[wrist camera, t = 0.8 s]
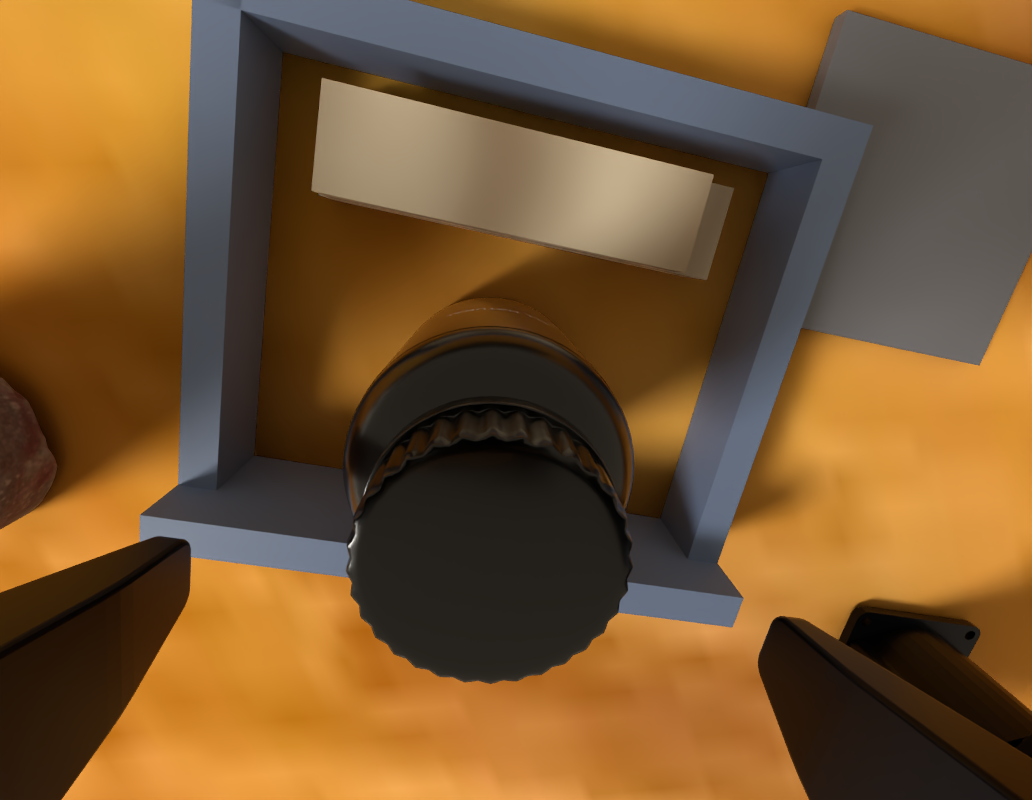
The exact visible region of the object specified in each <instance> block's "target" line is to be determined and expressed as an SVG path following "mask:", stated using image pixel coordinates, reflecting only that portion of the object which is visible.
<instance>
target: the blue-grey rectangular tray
mask: <svg viewBox="0 0 1032 800" xmlns="http://www.w3.org/2000/svg"><path fill="white" fill-rule="evenodd" d="M283 52H285V53H289V54H293V55H297V56H301V57H305V58H309V59H313V60H317V61H321V62H325V63H329V64H333V65H337V66H341V67H345V68H349V69H353V70H357V71H361V72H365V73H369V74H373V75H377V76H381V77H385V78H389V79H393V80H397V81H401V82H405V83H409V84H413V85H417V86H421V87H425V88H429V89H433V90H437V91H441V92H445V93H449V94H453V95H457V96H461V97H465V98H469V99H473V100H477V101H481V102H485V103H489V104H493V105H497V106H501V107H505V108H509V109H513V110H517V111H521V112H525V113H529V114H533V115H537V116H541V117H545V118H549V119H553V120H557V121H561V122H565V123H569V124H573V125H577V126H581V127H585V128H589V129H593V130H597V131H601V132H605V133H609V134H613V135H617V136H621V137H625V138H629V139H633V140H637V141H641V142H645V143H649V144H653V145H657V146H661V147H666V148H670V149H674V150H678V151H682V152H686V153H690V154H694V155H698V156H702V157H706V158H710V159H714V160H718V161H722V162H726V163H730V164H734V165H738V166H742V167H746V168H750V169H754V170H758V171H762V172H766V173H769V174H768V177H767V180H766V183H765V186H764V189H763V193H762V196H761V199H760V202H759V205H758V209H757V212H756V215H755V218H754V221H753V225H752V228H751V231H750V234H749V237H748V240H747V244H746V247H745V250H744V253H743V256H742V260H741V263H740V266H739V269H738V272H737V275H736V279H735V282H734V285H733V288H732V291H731V295H730V298H729V301H728V304H727V307H726V311H725V314H724V317H723V320H722V323H721V326H720V330H719V333H718V336H717V339H716V342H715V346H714V349H713V352H712V355H711V358H710V362H709V365H708V368H707V371H706V374H705V377H704V381H703V384H702V387H701V390H700V393H699V397H698V400H697V403H696V406H695V409H694V413H693V416H692V419H691V422H690V425H689V428H688V432H687V435H686V438H685V441H684V444H683V448H682V451H681V454H680V457H679V460H678V463H677V467H676V470H675V473H674V476H673V479H672V483H671V486H670V489H669V492H668V495H667V499H666V502H665V505H664V508H663V511H662V514H661V518H654V517H648V516H641V515H635V514H628V513H626V516H627V528H628V530H629V532H630V534H631V536H632V541H633V544H632V548H631V551H630V556H631V559H632V563H633V568H632V571H631V573H630V575H629V576H628V578H627V582H628V591H627V593H626V594H625V596H624V597H623V598H622V599H621V600H620V604H619V611H618V613H626V614H634V615H641V616H649V617H657V618H665V619H672V620H680V621H688V622H695V623H703V624H711V625H719V626H726V627H733V624H734V622H735V619H736V617H737V614H738V611H739V609H740V606H741V603H742V601H743V597H742V595H741V594H740V593H739V592H738V590H737V589H736V588H735V586H734V585H733V584H732V582H731V581H730V580H729V578H728V577H727V576H726V574H725V573H724V572H723V570H722V569H721V568H720V566H719V565H718V564H717V563H718V560H719V557H720V554H721V551H722V549H723V546H724V543H725V540H726V537H727V535H728V532H729V529H730V526H731V523H732V521H733V518H734V515H735V512H736V509H737V507H738V504H739V501H740V498H741V495H742V493H743V490H744V487H745V484H746V481H747V479H748V476H749V473H750V470H751V467H752V465H753V462H754V459H755V456H756V453H757V451H758V448H759V445H760V442H761V439H762V437H763V434H764V431H765V428H766V425H767V423H768V420H769V417H770V414H771V411H772V409H773V406H774V403H775V400H776V397H777V395H778V392H779V389H780V386H781V383H782V381H783V378H784V375H785V372H786V369H787V367H788V364H789V361H790V358H791V355H792V353H793V350H794V347H795V344H796V341H797V339H798V336H799V333H800V330H801V327H802V325H803V322H804V319H805V316H806V313H807V311H808V308H809V305H810V302H811V299H812V297H813V294H814V291H815V288H816V285H817V282H818V280H819V277H820V274H821V271H822V268H823V266H824V263H825V260H826V257H827V254H828V252H829V249H830V246H831V243H832V240H833V238H834V235H835V232H836V229H837V226H838V224H839V221H840V218H841V215H842V212H843V210H844V207H845V204H846V201H847V198H848V196H849V193H850V190H851V187H852V184H853V182H854V179H855V176H856V173H857V170H858V168H859V165H860V162H861V159H862V156H863V154H864V151H865V148H866V145H867V142H868V140H869V137H870V134H871V131H872V128H873V125H870V124H866V123H862V122H858V121H855V120H851V119H847V118H844V117H840V116H836V115H832V114H829V113H825V112H821V111H818V110H814V109H810V108H806V107H803V106H799V105H795V104H792V103H788V102H784V101H780V100H777V99H773V98H769V97H766V96H762V95H758V94H754V93H751V92H747V91H743V90H740V89H736V88H732V87H728V86H725V85H721V84H717V83H714V82H710V81H706V80H702V79H699V78H695V77H691V76H688V75H684V74H680V73H677V72H673V71H669V70H665V69H662V68H658V67H654V66H651V65H647V64H643V63H639V62H636V61H632V60H628V59H625V58H621V57H617V56H613V55H610V54H606V53H602V52H599V51H595V50H591V49H587V48H584V47H580V46H576V45H573V44H569V43H565V42H561V41H558V40H554V39H550V38H547V37H543V36H539V35H535V34H532V33H528V32H524V31H521V30H517V29H513V28H509V27H506V26H502V25H498V24H495V23H491V22H487V21H483V20H480V19H476V18H472V17H469V16H465V15H461V14H457V13H454V12H450V11H446V10H443V9H439V8H435V7H431V6H428V5H424V4H420V3H417V2H413V1H409V0H192V27H191V62H190V96H189V131H188V165H187V200H186V234H185V269H184V304H183V338H182V373H181V407H180V442H179V477H178V485H177V486H176V487H175V488H174V489H172V490H171V491H170V492H169V493H167V494H166V495H165V496H163V497H162V498H161V499H160V500H158V501H157V502H156V503H155V504H153V505H152V506H151V507H149V508H148V509H147V510H146V511H144V512H143V513H142V514H141V515H140V542H141V541H144V540H147V539H150V538H152V537H156V536H163V537H171V538H179V539H185V540H187V541H188V542H189V543H190V547H191V557H194V558H202V559H210V560H217V561H225V562H233V563H241V564H248V565H256V566H264V567H271V568H279V569H287V570H295V571H302V572H310V573H318V574H325V575H333V576H341V577H348V575H347V573H346V565H347V562H348V559H349V554H348V550H347V546H346V545H347V540H348V537H349V535H350V533H351V531H352V529H353V516H352V513H351V510H350V507H349V505H348V501H347V497H346V493H345V487H344V480H343V469H338V468H331V467H325V466H319V465H312V464H306V463H299V462H293V461H286V460H280V459H273V458H267V457H260V456H254V451H255V437H256V423H257V409H258V395H259V381H260V367H261V353H262V339H263V325H264V311H265V297H266V283H267V269H268V255H269V241H270V227H271V213H272V199H273V185H274V171H275V157H276V143H277V129H278V115H279V101H280V88H281V74H282V60H283ZM348 578H349V577H348Z"/></svg>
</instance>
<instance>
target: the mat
mask: <svg viewBox="0 0 1032 800" xmlns="http://www.w3.org/2000/svg"><path fill="white" fill-rule="evenodd" d="M806 108H810V109H814V110H818V111H821V112H825V113H829V114H832V115H836V116H840V117H844V118H847V119H851V120H855V121H858V122H862V123H866V124H870V125H873V128H872V131H871V134H870V137H869V140H868V142H867V145H866V148H865V151H864V154H863V156H862V159H861V162H860V165H859V168H858V170H857V173H856V176H855V179H854V182H853V184H852V187H851V190H850V193H849V196H848V198H847V201H846V204H845V207H844V210H843V212H842V215H841V218H840V221H839V224H838V226H837V229H836V232H835V235H834V238H833V240H832V243H831V246H830V249H829V252H828V254H827V257H826V260H825V263H824V266H823V268H822V271H821V274H820V277H819V280H818V282H817V285H816V288H815V291H814V294H813V297H812V299H811V302H810V305H809V308H808V311H807V313H806V316H805V319H804V322H803V325H802V327H801V328H804V329H809V330H813V331H818V332H823V333H828V334H832V335H837V336H842V337H846V338H851V339H856V340H861V341H865V342H870V343H875V344H880V345H884V346H889V347H894V348H899V349H903V350H908V351H913V352H918V353H922V354H927V355H932V356H937V357H941V358H946V359H951V360H956V361H960V362H965V363H970V364H974V365H980V363H981V361H982V359H983V356H984V354H985V352H986V350H987V348H988V346H989V343H990V341H991V339H992V337H993V335H994V333H995V330H996V328H997V326H998V324H999V322H1000V320H1001V317H1002V315H1003V313H1004V311H1005V309H1006V307H1007V304H1008V302H1009V300H1010V298H1011V296H1012V293H1013V291H1014V289H1015V287H1016V285H1017V283H1018V280H1019V278H1020V276H1021V274H1022V272H1023V270H1024V267H1025V265H1026V263H1027V261H1028V259H1029V257H1030V254H1031V252H1032V65H1030V64H1027V63H1024V62H1020V61H1017V60H1014V59H1010V58H1007V57H1004V56H1000V55H997V54H994V53H990V52H987V51H983V50H980V49H977V48H973V47H970V46H967V45H963V44H960V43H957V42H953V41H950V40H947V39H943V38H940V37H937V36H933V35H930V34H926V33H923V32H920V31H916V30H913V29H910V28H906V27H903V26H900V25H896V24H893V23H890V22H886V21H883V20H880V19H876V18H873V17H870V16H866V15H863V14H859V13H856V12H853V11H849V10H847V11H845V12H844V13H842V14H841V15H839V16H837V17H836V18H835V20H834V23H833V26H832V29H831V32H830V35H829V39H828V42H827V45H826V48H825V51H824V54H823V57H822V60H821V63H820V67H819V70H818V73H817V76H816V79H815V82H814V85H813V88H812V91H811V94H810V98H809V101H808V104H807V107H806Z"/></svg>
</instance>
